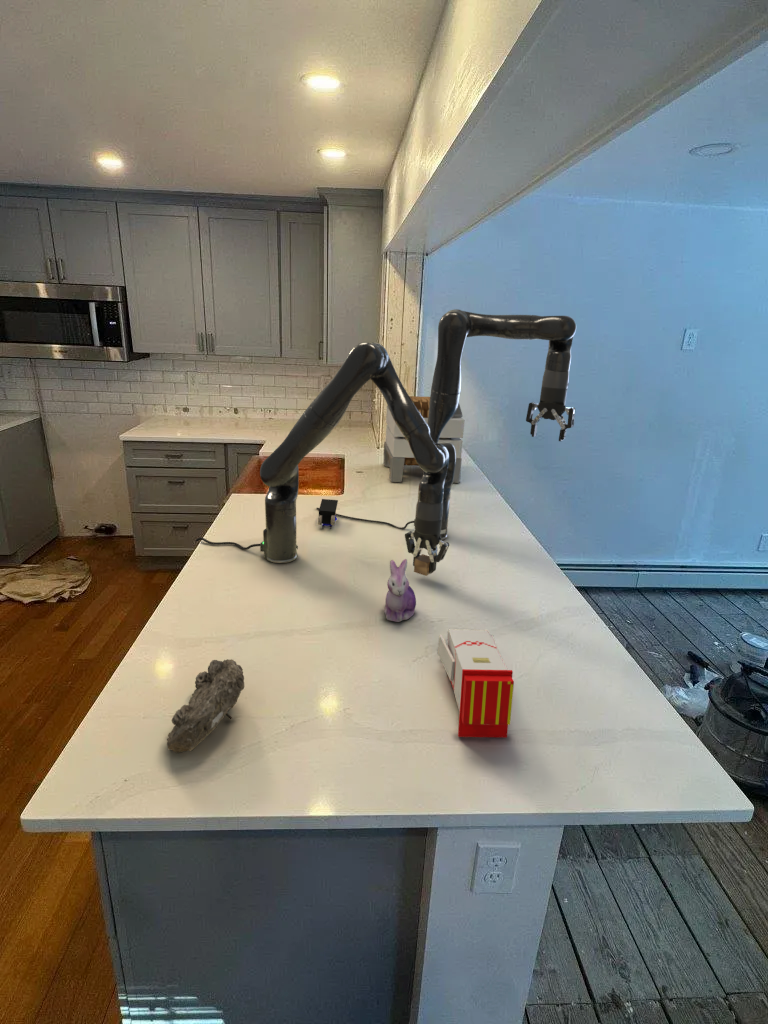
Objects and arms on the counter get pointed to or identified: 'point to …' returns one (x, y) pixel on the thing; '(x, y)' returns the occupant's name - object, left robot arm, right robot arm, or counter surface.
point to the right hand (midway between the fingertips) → (547, 438)
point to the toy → (478, 682)
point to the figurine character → (327, 513)
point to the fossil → (206, 705)
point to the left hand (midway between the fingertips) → (424, 569)
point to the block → (422, 565)
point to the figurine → (399, 594)
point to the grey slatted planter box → (399, 448)
